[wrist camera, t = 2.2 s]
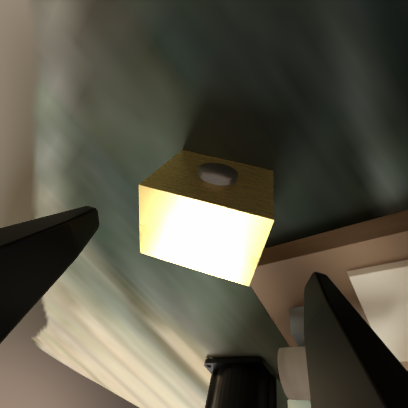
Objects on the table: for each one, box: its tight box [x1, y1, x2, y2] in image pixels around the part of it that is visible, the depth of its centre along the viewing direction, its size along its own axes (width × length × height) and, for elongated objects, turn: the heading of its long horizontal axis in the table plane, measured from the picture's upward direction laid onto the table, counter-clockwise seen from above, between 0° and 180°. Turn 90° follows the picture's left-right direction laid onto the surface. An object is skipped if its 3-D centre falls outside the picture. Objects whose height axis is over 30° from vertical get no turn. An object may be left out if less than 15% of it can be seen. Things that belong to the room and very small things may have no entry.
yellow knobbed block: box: [139, 150, 274, 286], centre depth 11 cm, size 4×5×5 cm
